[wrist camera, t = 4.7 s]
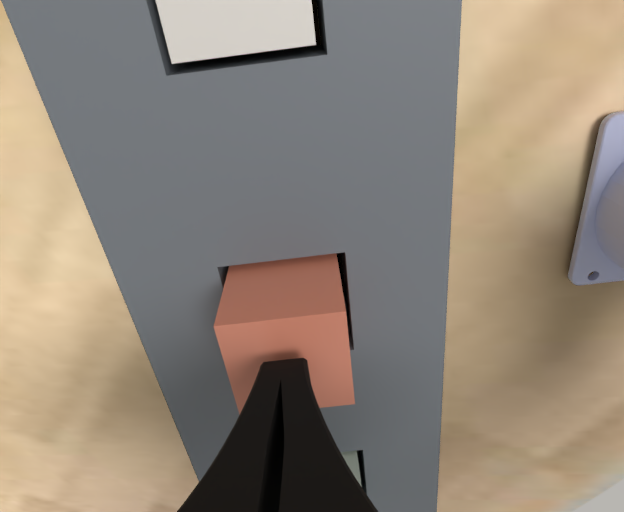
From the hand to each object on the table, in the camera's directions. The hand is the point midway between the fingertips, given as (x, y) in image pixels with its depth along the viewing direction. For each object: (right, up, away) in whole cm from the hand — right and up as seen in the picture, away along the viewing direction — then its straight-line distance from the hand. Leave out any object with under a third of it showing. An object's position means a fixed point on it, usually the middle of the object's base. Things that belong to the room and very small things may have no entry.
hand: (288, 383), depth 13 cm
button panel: (0, +4, +7) cm, 8 cm away
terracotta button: (0, +2, +4) cm, 5 cm away
